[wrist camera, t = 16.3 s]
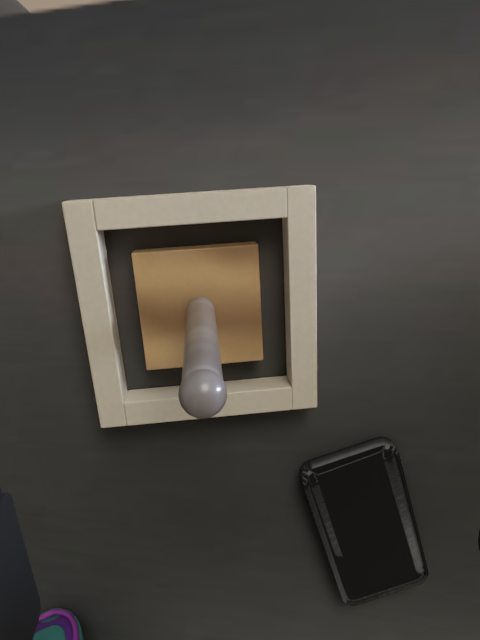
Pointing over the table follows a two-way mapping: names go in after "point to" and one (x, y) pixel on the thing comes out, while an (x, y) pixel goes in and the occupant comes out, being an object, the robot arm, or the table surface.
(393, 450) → the phone
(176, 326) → the wooden base with peg
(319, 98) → the table surface
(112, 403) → the white square frame
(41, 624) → the pencil case
